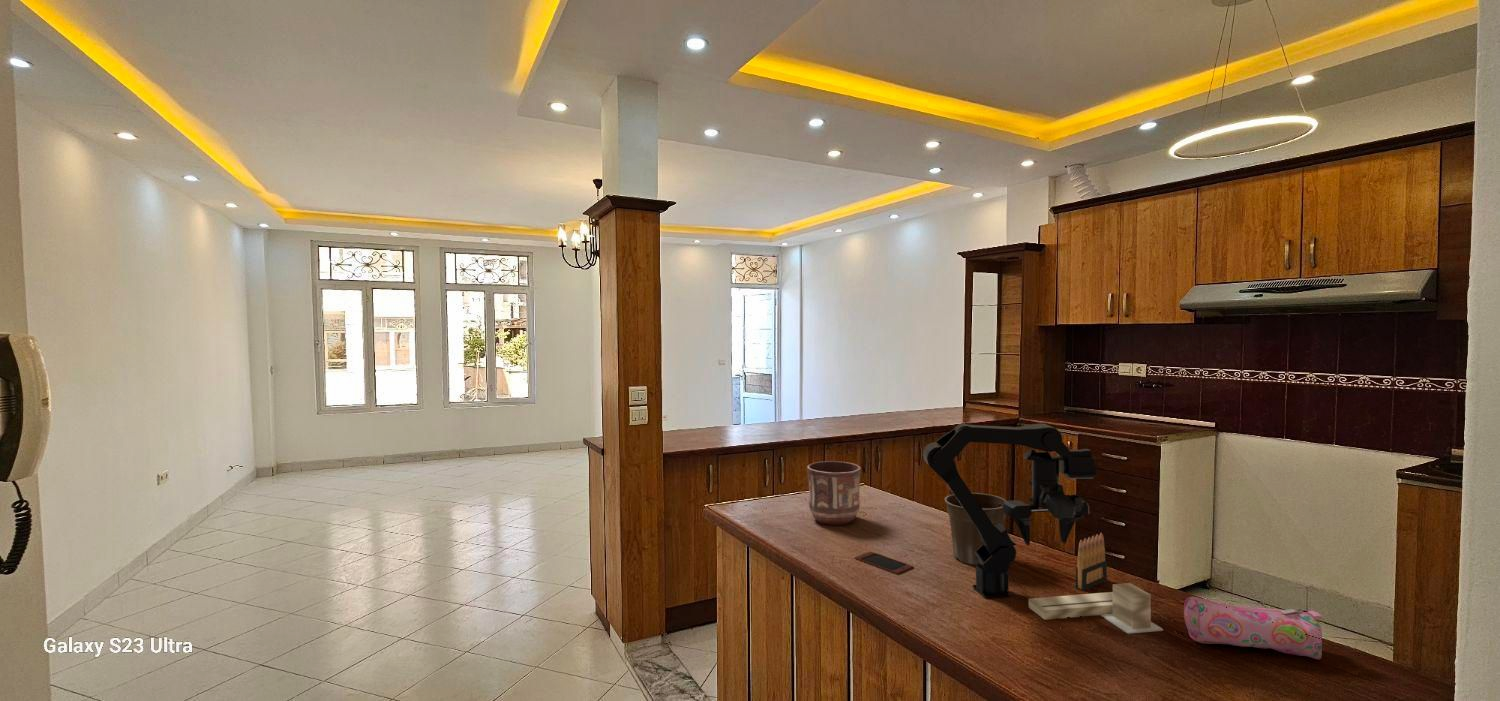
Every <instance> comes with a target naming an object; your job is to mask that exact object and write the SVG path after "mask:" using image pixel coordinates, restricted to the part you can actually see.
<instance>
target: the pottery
mask: <svg viewBox="0 0 1500 701" xmlns="http://www.w3.org/2000/svg"><path fill="white" fill-rule="evenodd" d="M806 472H807V477H808V478H807V481H808V506H809V511H810V512H811V514H812V516H813V518H814V519H815V520H816V521H817V522H819V523H820V524H822V523H823V525H827V524H829V526H843V525H844V524H845V525H848V524H850V523H851V522H853V520H854V519H855V518H856V517H857V516H858V513H859V511H860V506H861V500H860V498H861V496H860V489H861V488H860V487H861V486H860V485H861V475H862V467H861V466H860V465H858V464H856V463H853V462H846V461H836V460H824V461H823V460H822V461H817V462H813V463H810V464H808V465H807V466H806Z"/></svg>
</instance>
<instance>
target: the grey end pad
mask: <svg viewBox="0 0 1500 701" xmlns="http://www.w3.org/2000/svg"><path fill="white" fill-rule="evenodd" d="M1100 616H1101V617H1102V618H1103V617H1104V618H1103V619H1105V621H1108V622H1110V623H1111V624H1112V625H1114V626H1115V627H1117V628H1119V629H1120V630H1122V631H1123V632H1124V633H1126V634H1128V635H1130V634H1138V633H1139V634H1140V633H1149V632H1150V633H1151V632H1163V631H1164V628H1162V627H1161V626H1159V625H1158V624H1156V623H1154V622H1152V621H1151V628H1141V629H1132V628H1130V627H1129V626H1127V625H1126V624H1124V623H1123V622H1121V621H1120V620H1118V619H1116V618H1115V617H1113V614H1103V615H1100Z"/></svg>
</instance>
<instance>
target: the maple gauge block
mask: <svg viewBox="0 0 1500 701" xmlns="http://www.w3.org/2000/svg"><path fill="white" fill-rule="evenodd" d="M1112 592H1113V617H1115V618H1116V619H1118V620H1120V621H1121V622H1123V623H1124V624H1126V625H1127V626H1129V627H1130V628H1132V629H1141V628H1151V622H1152V620H1151V616H1152V615H1151V614H1152V613H1151V611H1152V610H1151V608H1152V607H1151V605H1152V604H1151V602H1152V600H1151V597H1152V596H1151V593H1149V592H1147V591H1145V590H1143V589H1141V588H1140V587H1138V586H1136V585H1134V584H1132V583H1131V582H1126V583H1125V582H1123V583H1115V584H1114V583H1113V584H1112Z"/></svg>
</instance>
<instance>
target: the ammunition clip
mask: <svg viewBox="0 0 1500 701" xmlns="http://www.w3.org/2000/svg"><path fill="white" fill-rule="evenodd" d="M1104 539H1105V538H1104V534H1103V533H1102V532H1100V534H1098V533H1097V534H1096V535H1092V536H1088V538H1086V537H1085V538H1084V539H1080V541H1079V544H1078V553H1077V566H1076V568H1075V589H1076V590H1077V589H1078V590H1080V591H1082V590H1083V591H1086V590H1089V589H1091V588H1093V587H1095V586H1098V585H1100V584H1103V583H1105V582H1107V581H1108V574H1107V573H1108V572H1107V571H1108V570H1107V568H1108V567H1107V566H1108V565H1107V560H1106V549H1105V540H1104ZM1083 591H1082V592H1083Z"/></svg>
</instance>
